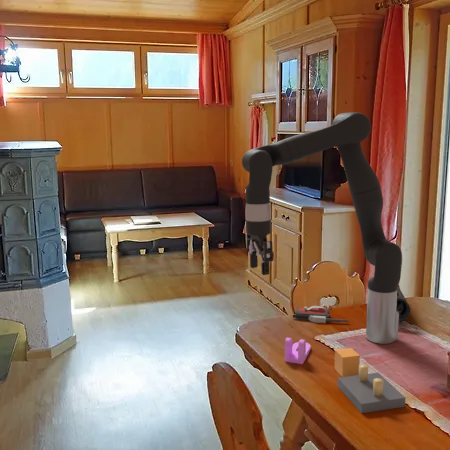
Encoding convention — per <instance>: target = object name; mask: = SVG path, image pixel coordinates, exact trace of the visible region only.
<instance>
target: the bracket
mask: <svg viewBox="0 0 450 450" xmlns="http://www.w3.org/2000/svg"><path fill="white" fill-rule="evenodd" d="M311 348H312V347H311V344H310V343H309V342H307V341H306V339H299V340H298V342H294V343H293V338H292V337H285V340H284V362H286V363H291V364H300V365H303V364H304V362H305V361H306V360H307V357H308V356H309V353H310V351H311Z"/></svg>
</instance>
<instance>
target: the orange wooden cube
mask: <svg viewBox="0 0 450 450" xmlns="http://www.w3.org/2000/svg"><path fill="white" fill-rule="evenodd" d="M360 356H361V355H360V354H359V353H358V352H356V351H355V350H354V348H352V347H348V348H339V349H334V370H335V372H337V374H338V375H339V376H340V377H348V376H355V375H359V365H361V364H360V360H361V357H360Z"/></svg>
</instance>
